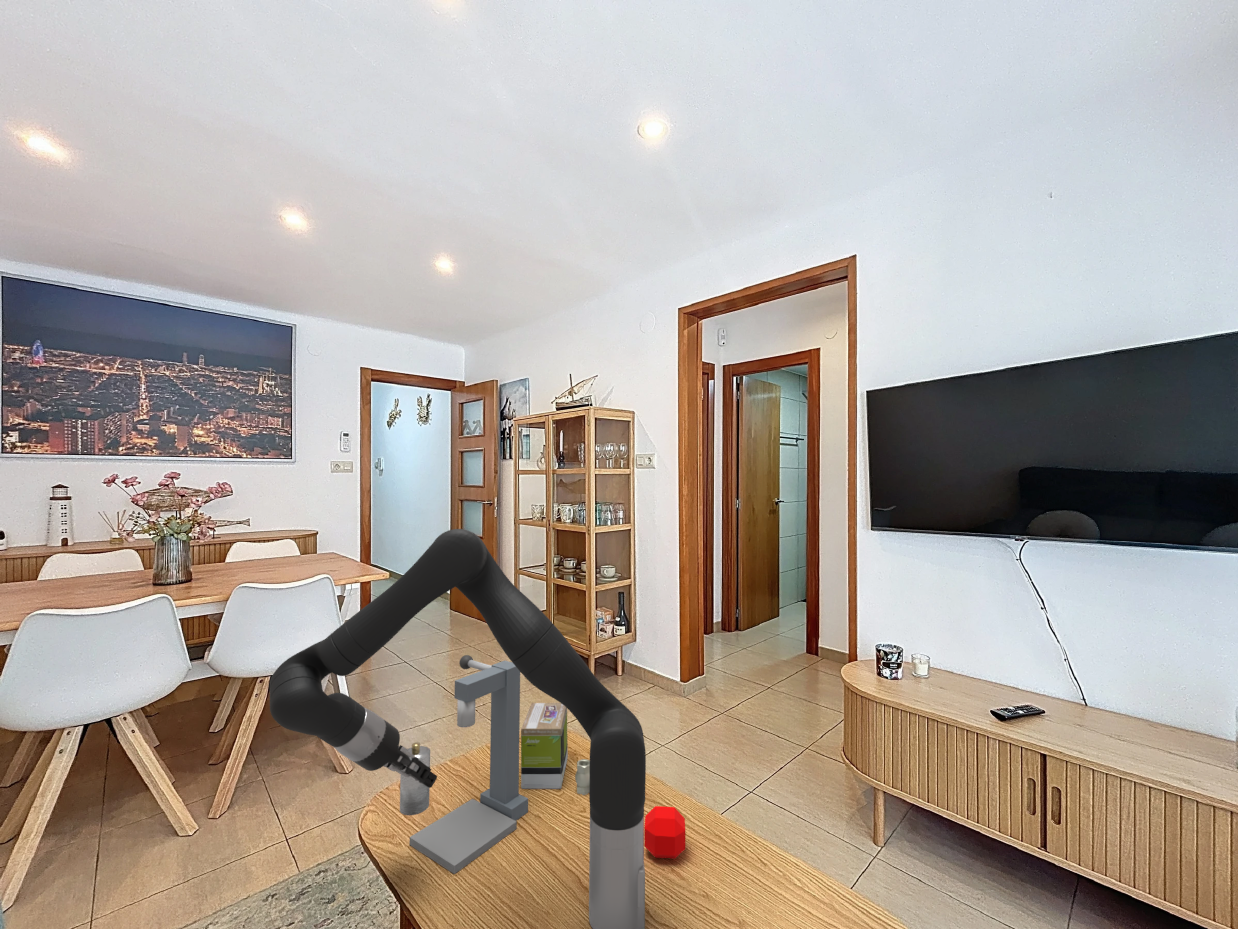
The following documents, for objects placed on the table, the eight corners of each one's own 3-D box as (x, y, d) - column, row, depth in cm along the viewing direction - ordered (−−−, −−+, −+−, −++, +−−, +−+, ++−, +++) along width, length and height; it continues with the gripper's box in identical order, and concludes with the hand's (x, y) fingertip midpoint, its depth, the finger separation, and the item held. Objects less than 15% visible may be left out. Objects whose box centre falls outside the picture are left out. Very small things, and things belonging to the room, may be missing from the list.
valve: (569, 796, 124) (616, 809, 120) (569, 767, 125) (616, 779, 120) (582, 781, 130) (627, 793, 126) (582, 754, 131) (627, 765, 126)
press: (454, 874, 99) (457, 700, 100) (386, 829, 112) (389, 675, 113) (534, 815, 117) (536, 668, 118) (468, 782, 129) (470, 649, 131)
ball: (684, 839, 109) (684, 801, 110) (685, 867, 101) (685, 826, 102) (645, 837, 110) (645, 799, 110) (643, 864, 102) (644, 824, 102)
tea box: (530, 757, 142) (531, 701, 142) (568, 757, 142) (568, 701, 142) (519, 790, 127) (520, 727, 127) (561, 790, 127) (562, 727, 127)
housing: (432, 798, 103) (434, 737, 103) (423, 815, 98) (425, 751, 98) (405, 798, 103) (407, 737, 103) (395, 815, 98) (396, 751, 98)
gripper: (404, 727, 91) (459, 768, 100) (358, 707, 99) (413, 746, 108) (373, 773, 86) (435, 811, 96) (328, 747, 94) (389, 785, 104)
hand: (423, 777), depth 102 cm, fingers closed on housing, 5 cm apart
